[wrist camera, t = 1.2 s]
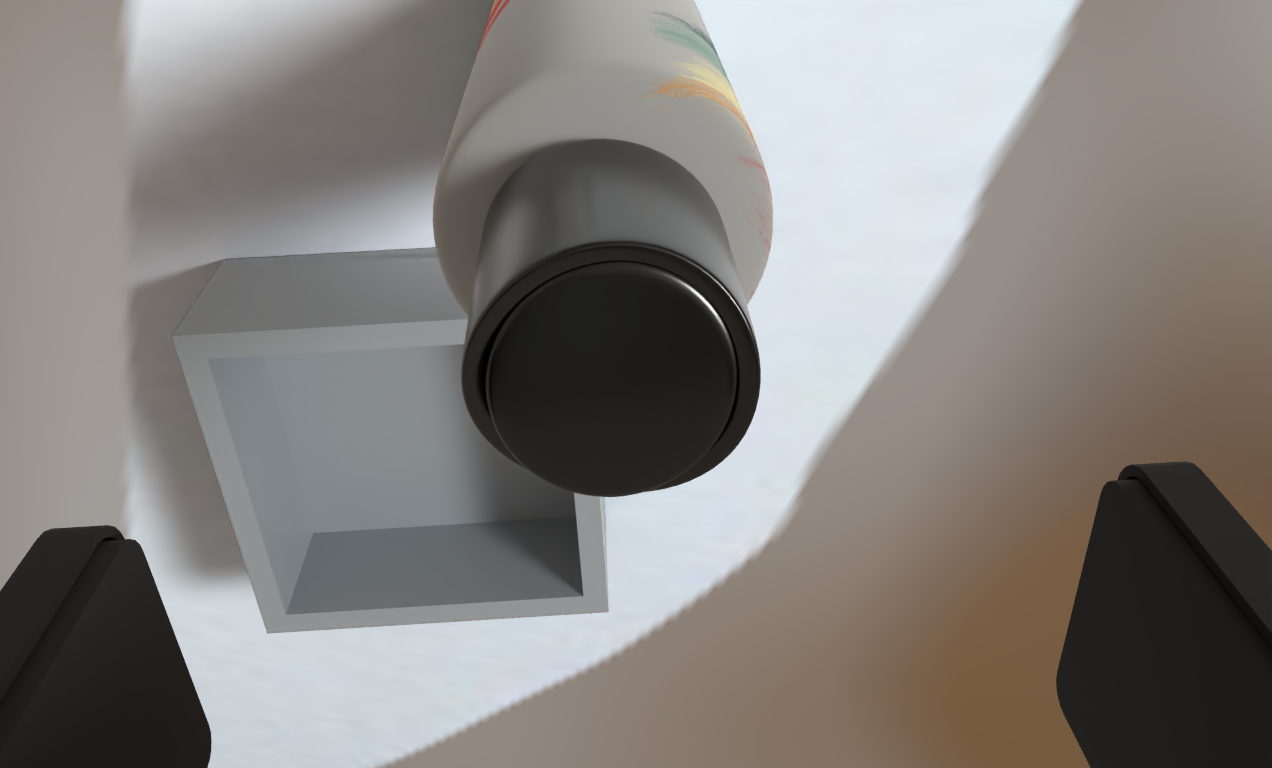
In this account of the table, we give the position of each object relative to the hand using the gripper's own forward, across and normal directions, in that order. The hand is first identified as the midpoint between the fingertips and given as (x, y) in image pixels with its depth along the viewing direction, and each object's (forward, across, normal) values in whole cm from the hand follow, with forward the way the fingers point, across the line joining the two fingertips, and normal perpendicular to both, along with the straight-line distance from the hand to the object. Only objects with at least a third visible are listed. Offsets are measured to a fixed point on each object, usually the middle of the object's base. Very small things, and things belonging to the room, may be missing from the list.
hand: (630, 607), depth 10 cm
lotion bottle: (+23, 0, -1) cm, 23 cm away
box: (+23, +7, +12) cm, 27 cm away
